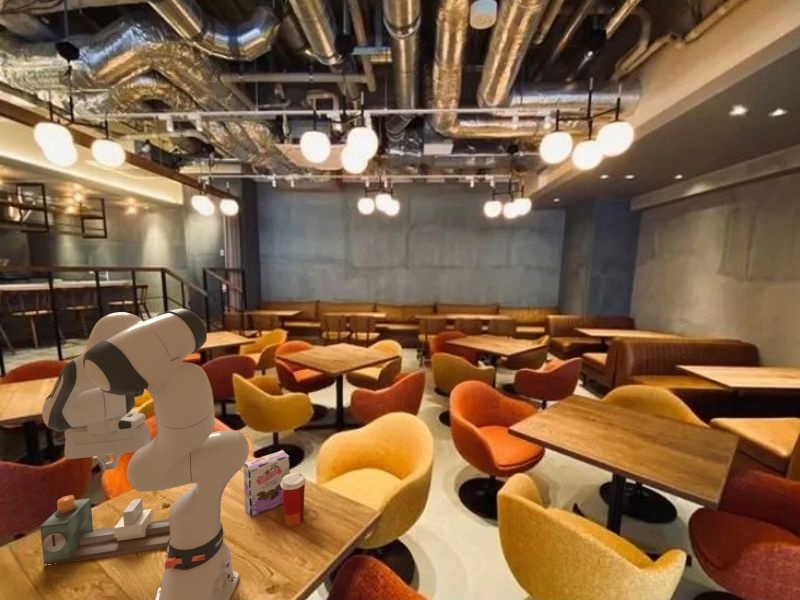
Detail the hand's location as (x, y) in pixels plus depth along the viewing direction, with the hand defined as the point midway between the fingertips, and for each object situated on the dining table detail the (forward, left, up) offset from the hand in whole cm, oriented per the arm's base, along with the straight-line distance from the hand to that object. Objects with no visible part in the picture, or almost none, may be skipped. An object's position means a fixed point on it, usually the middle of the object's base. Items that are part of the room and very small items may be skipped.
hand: (110, 468), depth 107 cm
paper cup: (-2, -50, -23) cm, 55 cm away
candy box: (+8, -41, -23) cm, 48 cm away
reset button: (0, +12, -11) cm, 16 cm away
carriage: (0, -5, -21) cm, 21 cm away
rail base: (0, 0, -23) cm, 23 cm away
